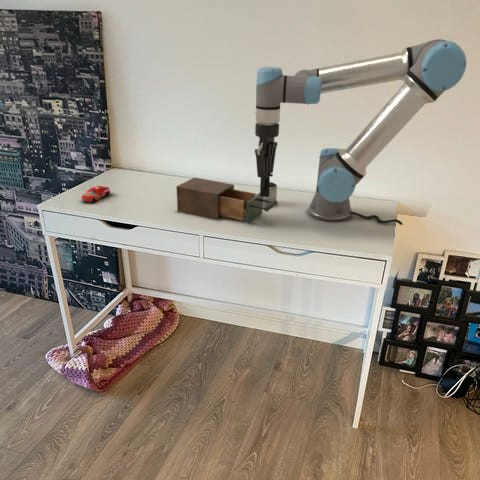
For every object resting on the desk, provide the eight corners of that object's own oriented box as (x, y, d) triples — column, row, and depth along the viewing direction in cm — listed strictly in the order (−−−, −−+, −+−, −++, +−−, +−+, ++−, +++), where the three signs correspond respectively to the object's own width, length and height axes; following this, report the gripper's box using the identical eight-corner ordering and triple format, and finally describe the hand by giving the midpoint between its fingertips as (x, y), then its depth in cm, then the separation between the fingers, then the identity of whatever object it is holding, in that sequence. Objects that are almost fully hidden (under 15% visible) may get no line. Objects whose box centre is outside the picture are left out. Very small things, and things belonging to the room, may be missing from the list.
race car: (90, 204, 181) (88, 194, 178) (79, 202, 183) (77, 192, 180) (113, 194, 190) (111, 184, 188) (102, 192, 192) (100, 182, 190)
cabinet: (233, 209, 180) (234, 184, 175) (217, 220, 171) (217, 194, 166) (195, 201, 186) (194, 177, 181) (177, 211, 177) (176, 186, 172)
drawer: (278, 216, 172) (279, 196, 168) (265, 227, 164) (266, 205, 160) (224, 205, 180) (224, 186, 176) (209, 215, 172) (209, 194, 168)
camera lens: (274, 200, 189) (275, 180, 184) (277, 206, 183) (278, 186, 179) (258, 201, 188) (259, 181, 184) (261, 206, 183) (262, 186, 178)
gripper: (265, 117, 158) (262, 188, 171) (247, 125, 148) (246, 199, 161) (286, 120, 155) (282, 192, 168) (270, 127, 146) (266, 203, 158)
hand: (264, 196), depth 165 cm, fingers closed
